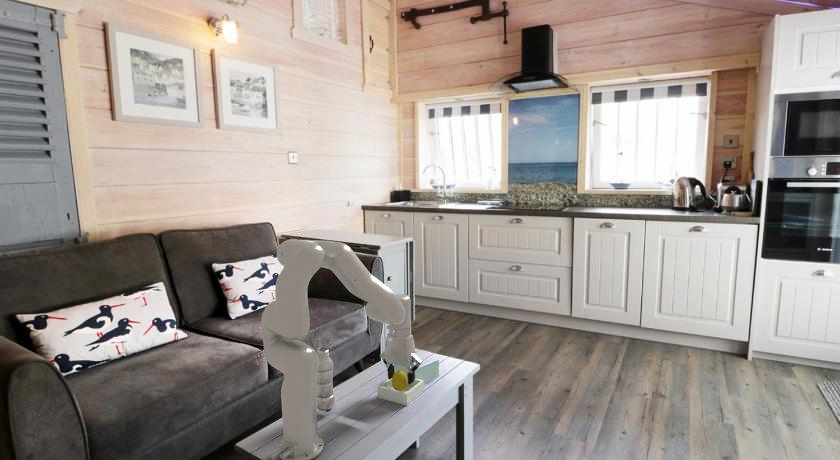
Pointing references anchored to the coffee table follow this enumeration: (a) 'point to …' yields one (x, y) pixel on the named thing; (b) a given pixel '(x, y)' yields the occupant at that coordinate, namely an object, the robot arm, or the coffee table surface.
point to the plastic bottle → (324, 381)
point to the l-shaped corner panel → (423, 371)
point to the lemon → (399, 380)
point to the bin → (401, 392)
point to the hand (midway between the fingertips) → (401, 380)
